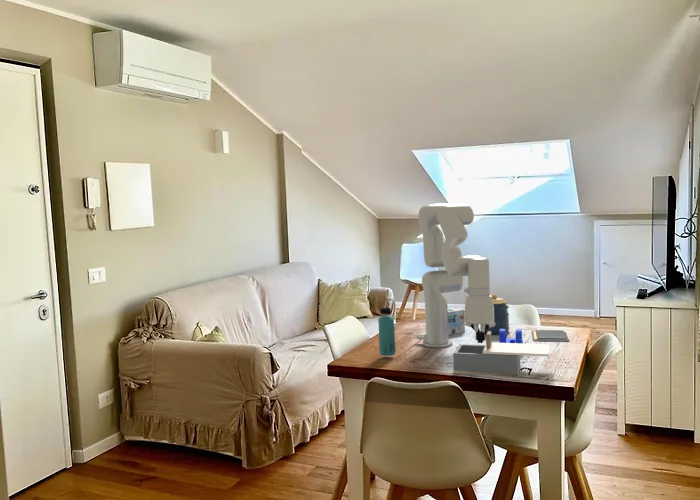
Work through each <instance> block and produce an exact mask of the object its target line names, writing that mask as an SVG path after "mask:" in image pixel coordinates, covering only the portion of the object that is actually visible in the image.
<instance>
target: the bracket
mask: <svg viewBox="0 0 700 500" xmlns="http://www.w3.org/2000/svg"><path fill="white" fill-rule="evenodd" d="M522 330H523V329H521V328H519V329H518V328H516V329H515V338H514V337H513V338H512V337H511V338H510V337H507V333H506V329H500V331H499V337H498V338H499V339H498V343H521V344H524V340H523V332H522Z"/></svg>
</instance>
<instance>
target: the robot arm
mask: <svg viewBox="0 0 700 500" xmlns="http://www.w3.org/2000/svg"><path fill="white" fill-rule="evenodd" d="M474 214H475V213H474V210H473V209H472V207H471V206H470V205H469V204H467V203H457V202H456V203H455V202H454V203H453V202H451V203H431V204H430V203H429V204H425V205H423V206H421V207H420V208H419V211H418V215H417V216H418V219H417V220H418V225H419V227H420V230H421V234H422V241H423V244H422V245H423V246H422V247H423V258H424V260H423V261H424V264H425V265H426V267H428V268H445V269H441V270H440V269H438V270H429V271H427V272H424V274H423V275H422V277H421V285H422V290H423V296H424V297H423V298H424V314H425V315H424V316H425V317H424V318H425V319H424V320H425V333H423V334H421V333H420V334H419V333H416V334H415V335H416V336H415V337H416V339H417V340H423V341H422V345H423V346H424V347H427V348H445V347H450V346H452V345H453V341H452V340H451V339H449V338H450V337H449V335H448V309H449V307H448V302H447V300H446V298H445V296H443V294H444V293H452V292H455V293H456V292H459V291H461V290H462V289H463V286H464V277H467V282H468V283H467V287H466V288H464V291H463V292H464V293H467V294H468V295H466V296H465V303H464V304H465V305H464V314H465V326H466V327H469V328H471V329H472V330H474V332H475V341H477V344H483V343H484V342H486V334H485V331H486V330H487V329H488V328H489V327H494V326H495V321H494V305H493V299H492V296H491V295H492V294H491V289H490V288H491V287H490V282H491V281H490V261H489V259H488V258H487V257H482V256H480V255H477V254H474V255H463V254H462V252H461V249H460V247H459V246H460V245H461V244H463V243H464V242H465V241H466V240H467V238H468V235H469V233H468V231H467V229H466V227H465V226H469V225H471V224H472V223H473V221H474V218H475V217H474V216H475V215H474ZM439 225H440V227H439ZM444 238H445V241H444ZM481 324H482V329H480V328H479V327H480V326H479V325H481Z"/></svg>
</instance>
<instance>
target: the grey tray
mask: <svg viewBox="0 0 700 500" xmlns="http://www.w3.org/2000/svg"><path fill="white" fill-rule="evenodd" d="M485 346H486V344H468V343H467V344H466V343H465V344H462V343H461V344H460V343H459V344H458V346H457V347H456V349H454V351H453V352H452V362H453V363H452V364H453V365H452V366H453V373H454V374H455V373H456V374H470V373H471V374H472V375H473V374H474V375H491V376H492V375H493V376H509V377H510V376H512V377H519V372H520V368H521V355H501V354H483V350H484V348H485Z"/></svg>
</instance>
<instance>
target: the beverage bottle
mask: <svg viewBox="0 0 700 500" xmlns="http://www.w3.org/2000/svg"><path fill="white" fill-rule="evenodd" d="M379 313H380V315H381V314H382V315H381V316H380V317H379V318H378V319H377V321H378V344H379V345H378V348H379V355H380V356H383V357H390V356H395V355H396V337H395V335H396V334H395V318H394V317H393V316H392V315H389V314H391V313H392V311H391V307H381V308H380V312H379Z"/></svg>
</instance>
